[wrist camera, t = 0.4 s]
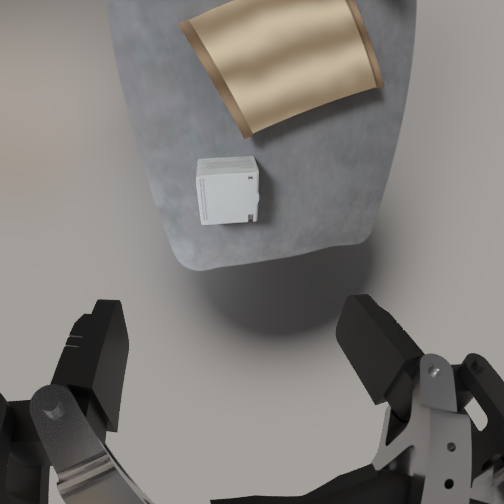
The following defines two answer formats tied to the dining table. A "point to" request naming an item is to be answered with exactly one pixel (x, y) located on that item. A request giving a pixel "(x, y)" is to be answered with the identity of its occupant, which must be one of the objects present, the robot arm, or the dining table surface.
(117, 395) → the robot arm
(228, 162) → the small box
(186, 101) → the dining table surface
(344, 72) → the stand
